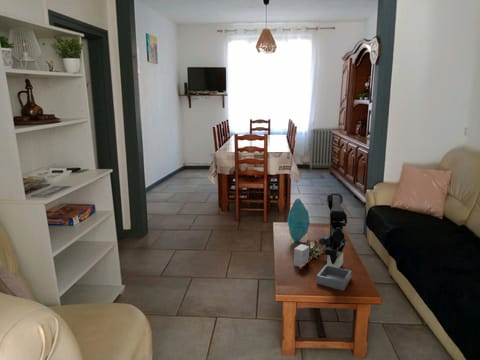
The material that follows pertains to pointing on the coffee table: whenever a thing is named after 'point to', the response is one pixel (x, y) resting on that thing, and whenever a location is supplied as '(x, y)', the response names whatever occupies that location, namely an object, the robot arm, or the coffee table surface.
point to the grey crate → (334, 277)
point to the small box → (301, 254)
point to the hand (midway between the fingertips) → (335, 261)
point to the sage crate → (338, 260)
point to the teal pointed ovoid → (298, 220)
